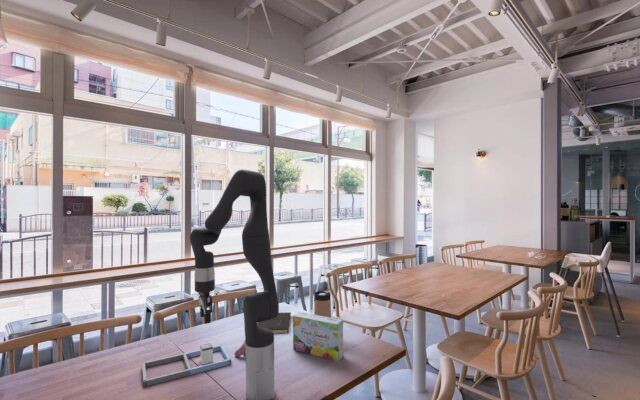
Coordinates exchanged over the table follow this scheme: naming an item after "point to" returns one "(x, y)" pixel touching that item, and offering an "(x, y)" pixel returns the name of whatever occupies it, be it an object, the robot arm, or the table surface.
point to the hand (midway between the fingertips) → (205, 319)
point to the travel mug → (322, 304)
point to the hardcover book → (277, 323)
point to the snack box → (318, 335)
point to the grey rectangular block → (206, 353)
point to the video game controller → (241, 350)
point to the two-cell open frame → (188, 369)
